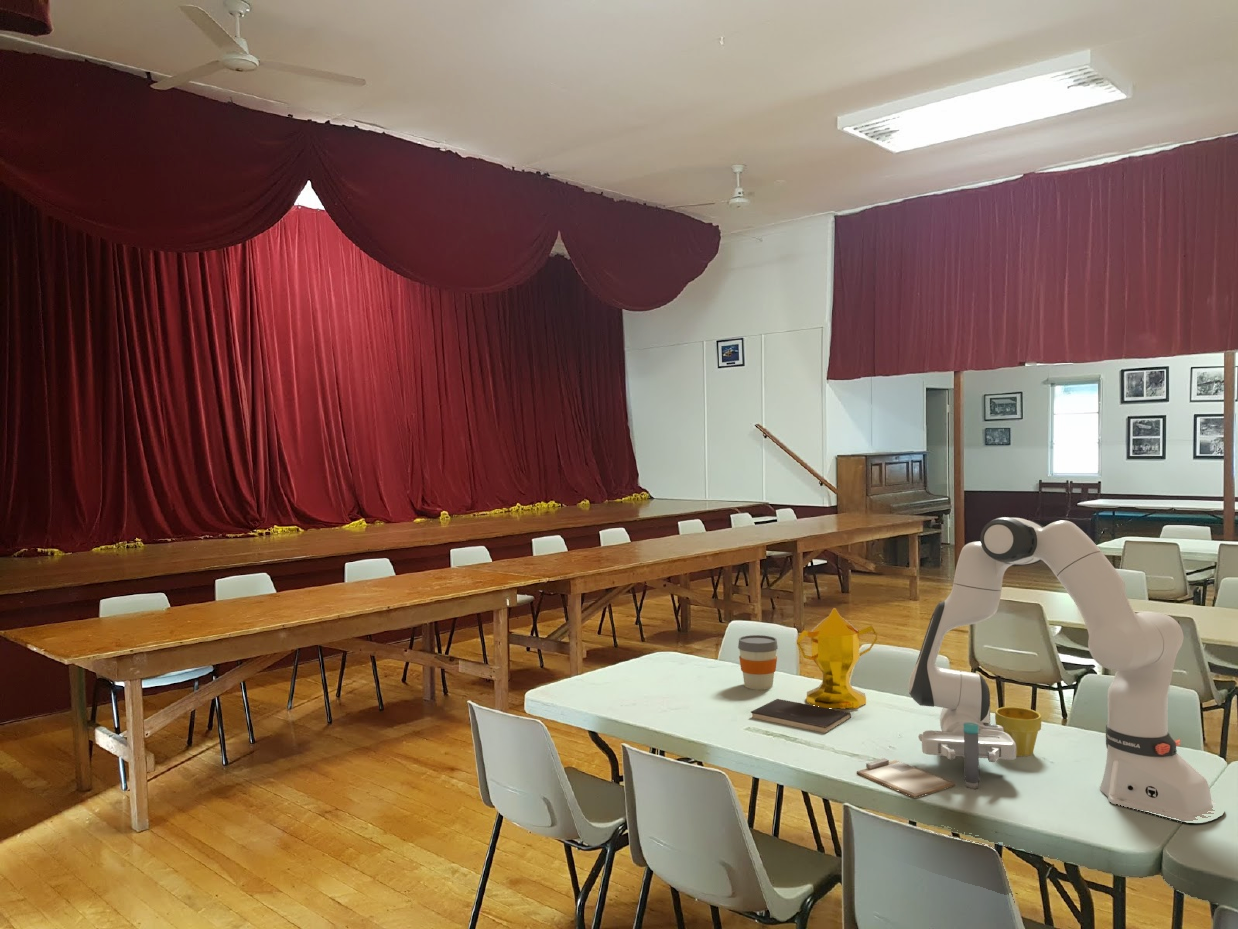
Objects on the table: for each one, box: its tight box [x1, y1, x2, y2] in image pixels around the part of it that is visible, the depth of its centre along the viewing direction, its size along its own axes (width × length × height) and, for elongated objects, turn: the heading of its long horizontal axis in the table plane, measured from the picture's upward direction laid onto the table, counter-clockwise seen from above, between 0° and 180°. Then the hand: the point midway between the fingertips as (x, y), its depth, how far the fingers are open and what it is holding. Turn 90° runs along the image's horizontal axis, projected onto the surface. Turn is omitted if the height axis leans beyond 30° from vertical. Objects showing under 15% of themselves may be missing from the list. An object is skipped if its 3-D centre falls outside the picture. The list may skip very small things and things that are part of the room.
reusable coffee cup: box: [737, 634, 779, 691], centre depth 276 cm, size 13×13×15 cm
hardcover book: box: [750, 698, 852, 733], centre depth 243 cm, size 16×23×2 cm
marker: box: [963, 723, 980, 790], centre depth 192 cm, size 3×3×14 cm
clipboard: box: [856, 758, 956, 798], centre depth 197 cm, size 17×13×2 cm
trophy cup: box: [796, 607, 878, 710], centre depth 257 cm, size 18×24×28 cm
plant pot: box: [994, 706, 1042, 757], centre depth 213 cm, size 10×10×10 cm
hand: (972, 757), depth 191 cm, fingers open, 7 cm apart
